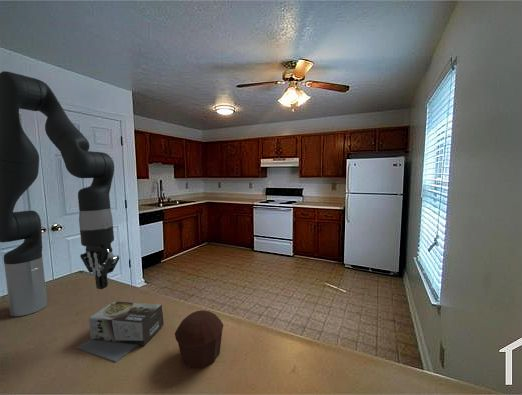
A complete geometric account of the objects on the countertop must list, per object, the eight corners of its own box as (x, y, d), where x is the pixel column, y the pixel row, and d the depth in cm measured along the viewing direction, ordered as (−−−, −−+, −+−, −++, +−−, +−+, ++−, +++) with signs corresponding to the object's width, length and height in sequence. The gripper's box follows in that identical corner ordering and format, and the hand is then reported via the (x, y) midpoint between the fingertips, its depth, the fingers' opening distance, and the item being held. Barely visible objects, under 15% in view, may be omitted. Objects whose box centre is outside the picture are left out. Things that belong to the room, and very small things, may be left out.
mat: (77, 348, 64) (77, 347, 64) (125, 318, 77) (125, 317, 77) (116, 362, 59) (115, 361, 59) (160, 328, 72) (160, 327, 72)
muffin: (185, 339, 66) (183, 303, 65) (227, 338, 66) (225, 302, 66) (169, 375, 55) (166, 331, 54) (220, 373, 55) (218, 330, 54)
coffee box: (90, 340, 67) (143, 346, 64) (88, 317, 66) (141, 322, 63) (116, 320, 76) (164, 325, 72) (114, 300, 75) (163, 304, 72)
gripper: (66, 227, 67) (72, 290, 68) (99, 230, 62) (105, 298, 63) (94, 222, 74) (99, 279, 75) (126, 224, 69) (131, 285, 70)
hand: (102, 287), depth 69 cm, fingers closed
